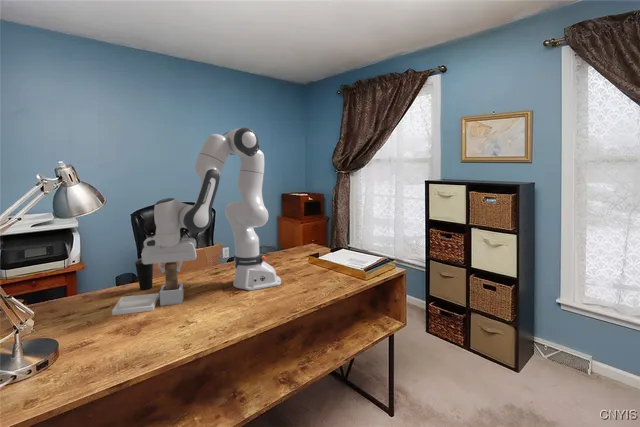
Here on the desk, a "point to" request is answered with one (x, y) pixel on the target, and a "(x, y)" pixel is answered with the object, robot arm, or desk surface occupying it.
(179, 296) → the box
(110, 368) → the desk surface
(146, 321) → the desk surface
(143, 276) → the drinking cup
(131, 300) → the tray
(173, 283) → the walnut peg
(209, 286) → the desk surface
